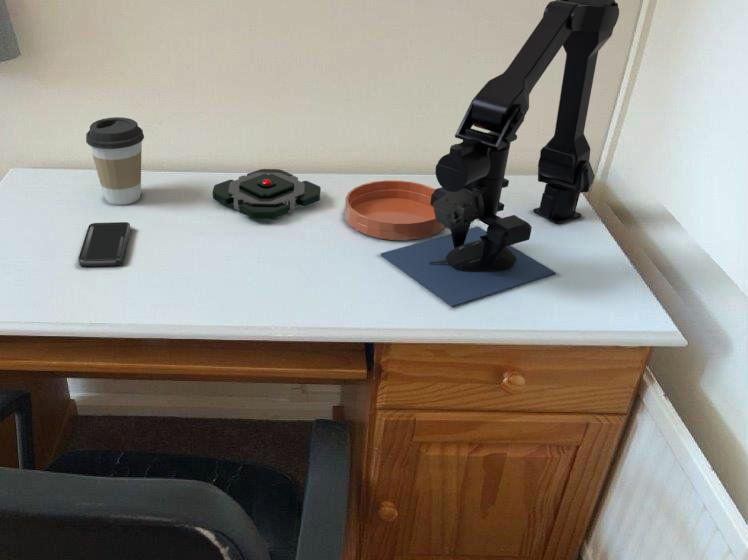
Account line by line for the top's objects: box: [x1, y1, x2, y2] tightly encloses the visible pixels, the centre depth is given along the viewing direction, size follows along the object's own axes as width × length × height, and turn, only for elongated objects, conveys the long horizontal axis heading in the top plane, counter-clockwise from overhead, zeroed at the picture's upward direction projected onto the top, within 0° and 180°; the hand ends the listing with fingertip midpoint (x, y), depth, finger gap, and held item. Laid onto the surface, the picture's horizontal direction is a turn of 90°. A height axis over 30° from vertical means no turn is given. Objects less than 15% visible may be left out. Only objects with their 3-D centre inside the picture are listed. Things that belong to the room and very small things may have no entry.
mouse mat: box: [380, 226, 557, 308], centre depth 134 cm, size 22×20×1 cm
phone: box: [77, 221, 132, 268], centre depth 141 cm, size 8×1×15 cm
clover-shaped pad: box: [211, 168, 321, 220], centre depth 155 cm, size 18×18×5 cm
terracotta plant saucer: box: [344, 179, 446, 241], centre depth 148 cm, size 19×19×4 cm
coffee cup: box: [85, 116, 145, 206], centre depth 154 cm, size 11×11×15 cm
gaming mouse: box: [429, 240, 517, 271], centre depth 132 cm, size 6×15×4 cm, turn 91°
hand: (471, 259), depth 133 cm, fingers closed on gaming mouse, 7 cm apart
